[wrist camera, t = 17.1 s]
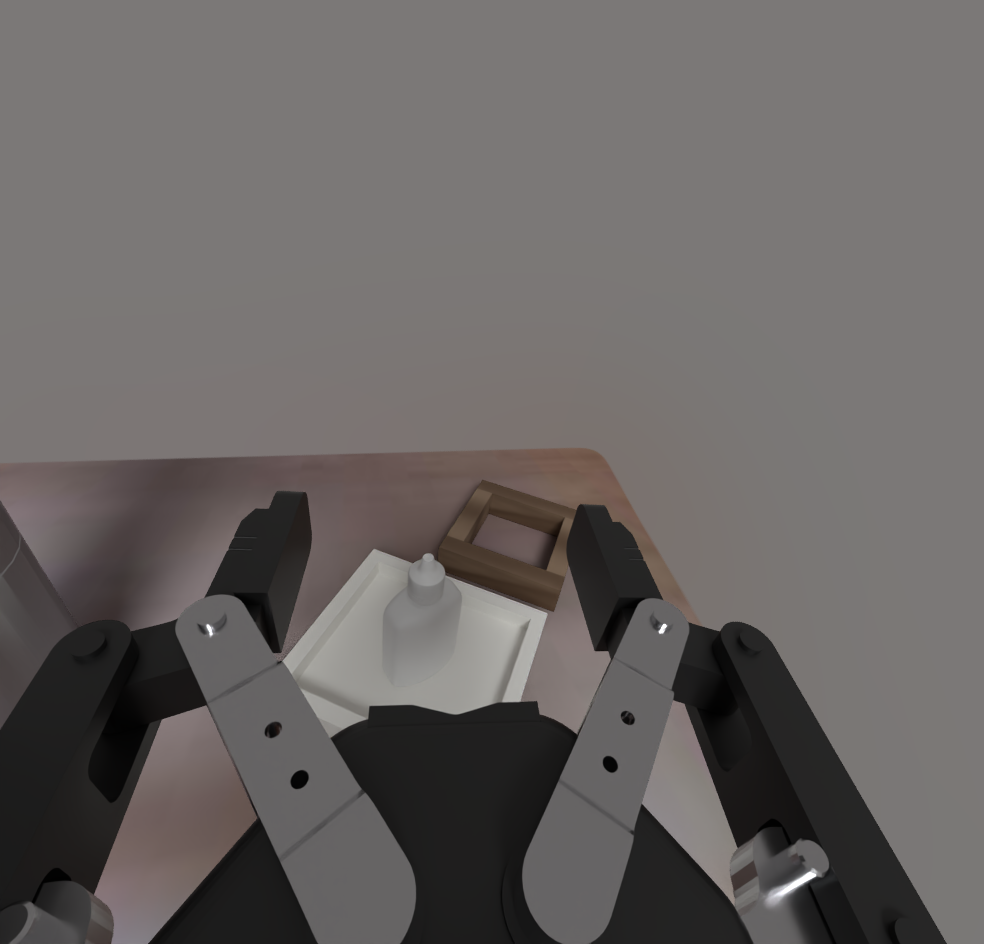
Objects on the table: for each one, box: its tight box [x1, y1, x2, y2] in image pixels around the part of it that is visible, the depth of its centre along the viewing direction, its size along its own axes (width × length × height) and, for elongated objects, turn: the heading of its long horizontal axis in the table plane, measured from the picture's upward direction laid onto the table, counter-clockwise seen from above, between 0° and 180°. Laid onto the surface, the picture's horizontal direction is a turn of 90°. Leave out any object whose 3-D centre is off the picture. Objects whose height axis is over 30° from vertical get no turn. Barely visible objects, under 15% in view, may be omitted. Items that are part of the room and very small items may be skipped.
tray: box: [282, 549, 548, 738], centre depth 38 cm, size 15×17×2 cm
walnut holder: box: [438, 480, 576, 612], centre depth 49 cm, size 12×12×3 cm
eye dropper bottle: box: [383, 553, 462, 687], centre depth 34 cm, size 4×6×12 cm
